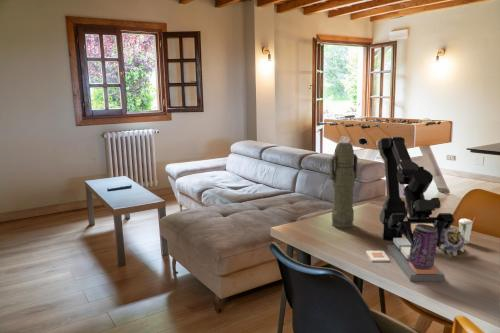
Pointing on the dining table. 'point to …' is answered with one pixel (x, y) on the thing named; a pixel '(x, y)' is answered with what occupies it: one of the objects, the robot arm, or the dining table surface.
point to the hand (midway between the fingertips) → (426, 246)
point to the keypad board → (408, 271)
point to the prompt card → (378, 256)
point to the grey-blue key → (401, 242)
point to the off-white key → (406, 251)
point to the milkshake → (465, 228)
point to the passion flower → (452, 241)
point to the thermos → (343, 185)
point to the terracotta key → (424, 269)
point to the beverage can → (423, 246)
